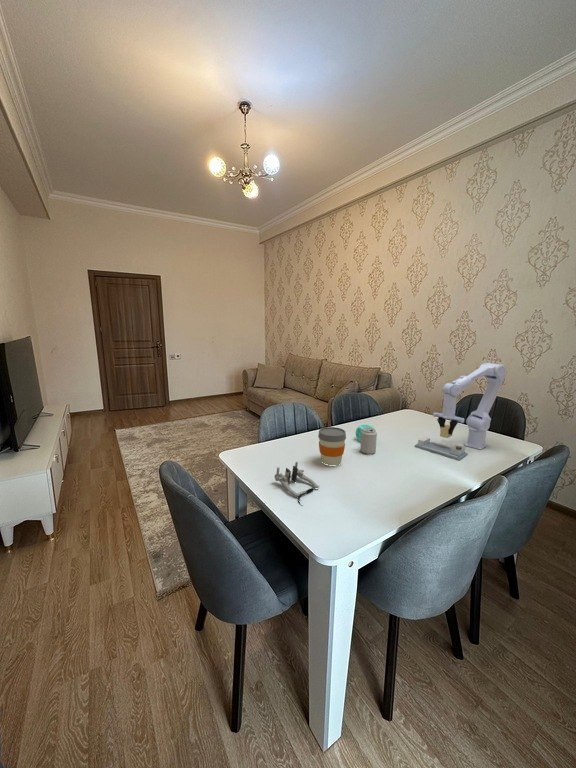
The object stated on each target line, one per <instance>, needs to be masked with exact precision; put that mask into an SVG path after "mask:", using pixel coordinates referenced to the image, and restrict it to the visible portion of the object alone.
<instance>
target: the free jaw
mask: <svg viewBox="0 0 576 768" xmlns="http://www.w3.org/2000/svg"><path fill="white" fill-rule="evenodd" d="M465 449H466V447H465V446H461V445H457V444H456V445H454V446H451V449H450V454H452V455H455V456H458V457H459V456H461V455H462V454H464V451H465ZM465 452H466V451H465Z"/></svg>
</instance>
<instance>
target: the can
mask: <svg viewBox="0 0 576 768" xmlns="http://www.w3.org/2000/svg"><path fill="white" fill-rule="evenodd" d="M377 433H378V432H377V431H376V428H375V427H374V428H368V427H367V428H363V430H362V431H361V442H360V448H359V450H360V451H361V452H362V454H365V453H366V454H365V455H373V454H374V453H376V451H377V450H376V449H377V435H378V434H377Z"/></svg>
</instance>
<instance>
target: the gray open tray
mask: <svg viewBox="0 0 576 768" xmlns="http://www.w3.org/2000/svg"><path fill="white" fill-rule="evenodd" d="M414 448H417V449H421V450H422V451H426V452H430V453H432V454H436V455H439V456H441V457H442V456H443V457H446V458H449V459H452V460H455V461H461V460H463V459H464V458H465V457H467V456H468V455H469V454H468V452H466V451H464V454H462V455H461V456H459V457H458V456H455V455H452V454H450V449H451V448H452V446H448V445H444V444H440V443H437V442H433V441H431V437H428V436H423V437H421V438H419V439H418V440H417V443H416V444H415V445H414Z"/></svg>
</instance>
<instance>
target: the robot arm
mask: <svg viewBox="0 0 576 768" xmlns="http://www.w3.org/2000/svg"><path fill="white" fill-rule="evenodd" d="M507 373H508V371H507V368H506V366H505V365H504V364H501V363H500V364H499V363H492V362H484V363H482V364H480V366H479V368H477V369H475V370H474V371H473V372H471V373H469V374H468V375H460V376H459V378H457V379H455V380H453V381H451V382H447V383H444V385H443V387H442V388H441V392H442V393H443V403H442V412H433V413H432V417H434V418H437V419H436V420H437V422H438V424H439V428H440V430H441V427H442V426H444V425H446V421H447V420H448V421H449V425H450V431H449V434H450V435H451V434H452V435H453V432H454V430H455V428H456V426H457V425H458V424H459V423H461V424H464V423H466V425H467V428H468V435H467V442H465V443H464V444H463V445H464V447H465V446H466V447H470V448H472V449H476V450H480V451H481V450H483V449H484V448H485V447H487V446H488V444H486V440H487V439H486V438H487V431H488V430H489V428H490V426H491V421H492V418H491V417H490V415H489V413H490V411H491V410H492V407H493V405H494V403H495V400H496V398H497V396H498V393H499V392H500V389H501V387H502V385H503V382H504V380H505V378H506V374H507ZM483 377H485V378H486V379H487V381H488V384H487V386H486V389H485V391H484V393H483V395H482V398H481V400H480V402H479V403H478V405H477V409H476V410H473V411H471V413H470V415H468V417H467V418H466V421H465V418H464V417H460V416H458V415H457V416H456V409H457V400H458V396H459V395H460V394H461V392H462V391H463V390H465V389H467V388H469V387H470V386H471V385H472V383H473V382H474V381H476V380H478V379H480V378H483Z"/></svg>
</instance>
